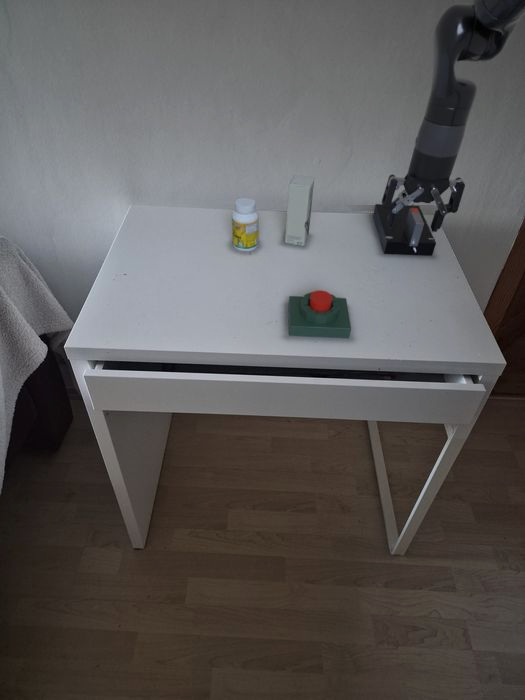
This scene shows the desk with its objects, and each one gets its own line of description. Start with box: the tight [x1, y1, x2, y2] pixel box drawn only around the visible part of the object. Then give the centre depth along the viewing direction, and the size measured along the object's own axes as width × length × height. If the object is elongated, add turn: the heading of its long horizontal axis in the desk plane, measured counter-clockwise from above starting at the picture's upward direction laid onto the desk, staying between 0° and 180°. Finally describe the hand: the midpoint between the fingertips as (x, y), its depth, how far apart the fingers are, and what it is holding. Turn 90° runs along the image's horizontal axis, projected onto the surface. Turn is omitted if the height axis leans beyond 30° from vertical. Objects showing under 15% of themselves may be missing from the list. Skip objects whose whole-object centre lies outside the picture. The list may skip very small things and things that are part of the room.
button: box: [309, 289, 332, 312], centre depth 74 cm, size 4×4×2 cm
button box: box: [288, 291, 352, 339], centre depth 75 cm, size 10×8×4 cm
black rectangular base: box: [372, 203, 437, 257], centre depth 95 cm, size 20×10×3 cm, turn 178°
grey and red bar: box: [404, 208, 424, 246], centre depth 89 cm, size 6×2×5 cm, turn 178°
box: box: [284, 174, 315, 247], centre depth 91 cm, size 5×4×13 cm
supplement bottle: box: [231, 197, 260, 252], centre depth 90 cm, size 5×5×10 cm
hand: (412, 228), depth 90 cm, fingers open, 8 cm apart
